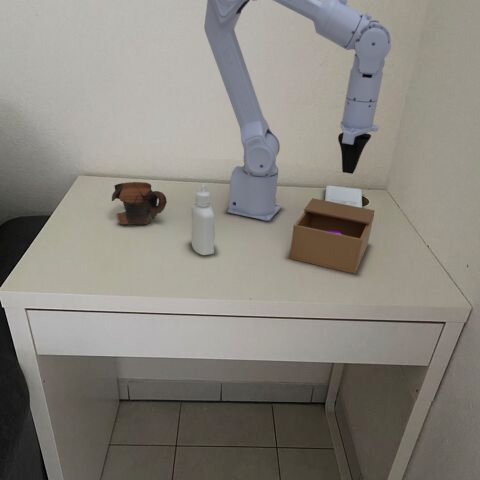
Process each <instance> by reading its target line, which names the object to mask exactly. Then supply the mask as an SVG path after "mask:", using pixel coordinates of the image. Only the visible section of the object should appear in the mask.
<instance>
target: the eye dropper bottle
mask: <svg viewBox="0 0 480 480" xmlns="http://www.w3.org/2000/svg"><path fill="white" fill-rule="evenodd" d="M215 221H216V216H215V212H214V209H213V208H212V206H211V192H209V191H208V190H207V186H206V184H201V185H200V190H198V191H196V193H195V204H193V205H192V206H191V247H192V249H193V251H195V252H196V253H197V254H199V255H201V256H208V255H213V254H214V253H215V228H216V226H215V224H216V222H215Z"/></svg>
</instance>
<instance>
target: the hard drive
mask: <svg viewBox="0 0 480 480" xmlns="http://www.w3.org/2000/svg"><path fill="white" fill-rule="evenodd" d="M362 193H363V191H362V189H361V188H356V187H355V188H354V187H345V186H337V185H326V188H325V194H324V201H329V202H335V203H340V204H345V205H350V206H355V207H360V208H363V194H362Z"/></svg>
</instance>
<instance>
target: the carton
mask: <svg viewBox="0 0 480 480" xmlns="http://www.w3.org/2000/svg"><path fill="white" fill-rule="evenodd" d="M374 217H375V213H374V214H373V217H372V219H371V221H370V223H369V224H364V223H360V222H355V221H350V220H345V219H340V218H335V217H330V216H325V215H320V214H316V213H311V212H306V211H304V212H303V213H302V214H301V215H300V217H299V218H298V219H297V221H295V223H294V224H293V229H292V230H293V231H292V235H291V244H290V253H289V259H290V260H295V261H299V262H302V263H307V264H312V265H316V266H320V267H325V268H329V269H333V270H337V271H341V272H345V273H349V274H353V275H355V274H356V273H357V270H358V268H359V265H360V264H361V261H362V259H363V257H364V254H365V253H366V250H367V247H368V244H369V240H370V235H371V230H372V226H373V222H374ZM327 231H339V232H341V234H342V235H341V234H336V233H332V232H327Z"/></svg>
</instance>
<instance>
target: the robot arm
mask: <svg viewBox="0 0 480 480" xmlns="http://www.w3.org/2000/svg"><path fill="white" fill-rule="evenodd" d="M250 1H251V0H207V1H206V8H205V17H204V25H203V26H204V27H203V28H204V33H205V36H206V38H207V42H208V44H209V46H210V47H209V48H210V50H211V52H212V55H213V58H214V61H215V64H216V66H217V69H218V71H219V74H220V77H221V79H222V83H223V85H224V88H225V90H226V94H227V96H228V99H229V102H230V104H231V108H232V110H233V113H234V115H235V119H236V121H237V123H238V126H239V130H240V131H239V132H240V141H241V145H242V147H243V156H242V157H243V166H241V165H240V166H239V165H237V166H235V167H234V168H233V170H232V172H231V175H230V179H229V194H228V196H229V197H228V209H227V210H226V211H227V213H229V214H232V215H239V216H242V217H246V218H250V219H251V218H252V219H257V220H262V221H264V222H265V221H266V222H269V221H271V220H272V219H273V217H274V216H275V215H276V214H277V213H278V212H279V210H281V208H282V207H281V205H278V204H276V198H277V188H278V179H279V167H278V166H277V164H276V163H277V157H278V155H279V152H280V149H281V144H280V140H279V139H278V137H277V136H276V135H275V134H274V133H273V131H272V130H271V128H270V126H269V124H268V121H267V120H266V118H265V117H264V114H263V111H262V109H261V105H260V103H259V99H258V96H257V94H256V91H255V87H254V85H253V82H252V79H251V76H250V73H249V70H248V67H247V64H246V61H245V58H244V55H243V52H242V49H241V45H240V44H239V40H238V38H237V34H236V31H235V28H236V25H237V23H238V21H239V19H240V16H241V14H242V11H243V10H244V8H245V7H246V6H247V5H248V4H249V2H250ZM252 1H254V2H256V0H252ZM272 1H273V2H275V3H278V4H280V5H281V6H283V7H285V8H287V9H289V10H291V11H293V12H295V13H296V14H299V15H300V16H303V17H305V18H307V19H309V20H311V21H312V22H313V25H314V30H315V33H316V34H317V35H318V36H321V37H323V38H324V39H327V40H328V41H330V42H332V43H333V44H335V45H337V46H339V47H341V48H343V49H345V50H346V51H350V50H354V52H355V53H354V56H353V61H352V67H351V69H350V71H349V77H348V83H347V90H346V93H345V101H344V106H343V113H342V119H341V121H340V124H339V127H340V129H341V131H342V132H341V133H339V134H338V137H337V141H338V144H339V147H340V152H341V170H342V173H345V174H351V175H353V174H354V173H355V171H356V169H357V166H358V164H359V161H360V158H361V155H362V153H363V151H364V149H365V147H366V146H367V144H368V143H369V141H370V139H371V138H372V134H371V132H375V133H377V132H378V131H379V125H376V124H374V120H375V115H376V110H377V105H378V100H379V94H380V90H381V86H382V79H383V76H384V74H383V73H384V72H383V70H384V69H383V68H384V67H385V59H386V58H387V56H388V55H389V53H390V51H391V48H392V44H391V42H392V39H391V34H390V32H389V30H388V29H387V28H386V27H385V25H383V24H382V23H381V22H380V21H379V20H376V19H372V18H373V15H372V14H370V13H369V12H366V13H365V14H364V13H362V12H361V11H359V10H357V9H355V8H354V7H352V6H350V5H348V0H272Z"/></svg>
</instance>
